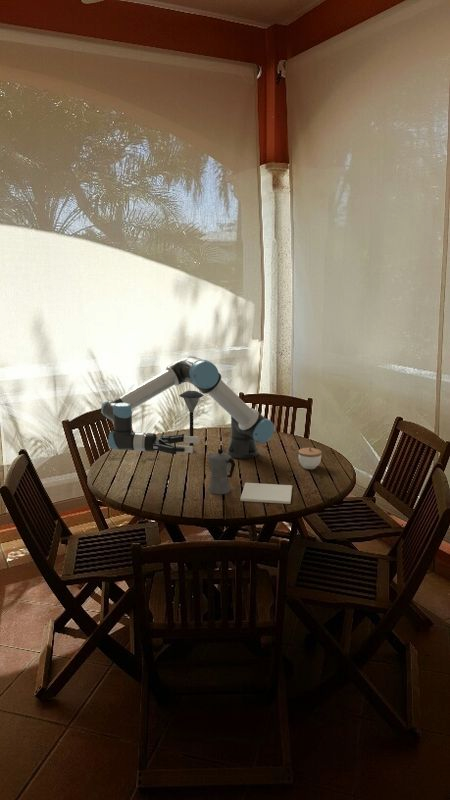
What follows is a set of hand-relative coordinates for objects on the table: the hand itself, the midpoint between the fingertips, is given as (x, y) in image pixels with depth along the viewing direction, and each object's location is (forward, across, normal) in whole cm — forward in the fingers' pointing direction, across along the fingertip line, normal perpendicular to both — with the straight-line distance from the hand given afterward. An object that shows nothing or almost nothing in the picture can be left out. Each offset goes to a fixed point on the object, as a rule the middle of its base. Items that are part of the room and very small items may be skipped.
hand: (196, 444), depth 256 cm
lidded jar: (+47, -37, -20) cm, 63 cm away
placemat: (+30, 0, -20) cm, 36 cm away
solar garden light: (-12, -53, -20) cm, 58 cm away
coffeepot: (+11, 0, -20) cm, 23 cm away
